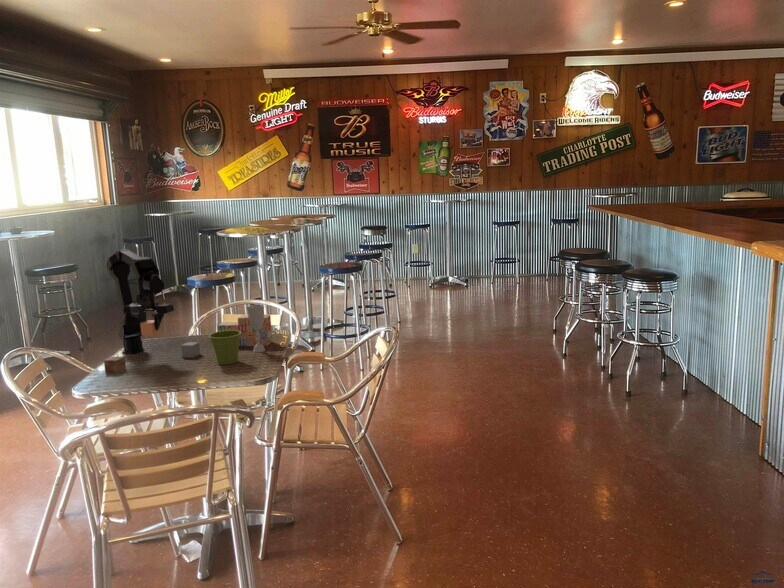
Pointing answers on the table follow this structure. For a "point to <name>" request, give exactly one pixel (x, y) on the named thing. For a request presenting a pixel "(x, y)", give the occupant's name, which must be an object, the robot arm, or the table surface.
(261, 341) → the stack of blocks
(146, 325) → the terracotta cube
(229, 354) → the plant pot
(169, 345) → the table surface
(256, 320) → the chalice
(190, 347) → the slate cube
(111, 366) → the walnut cube
